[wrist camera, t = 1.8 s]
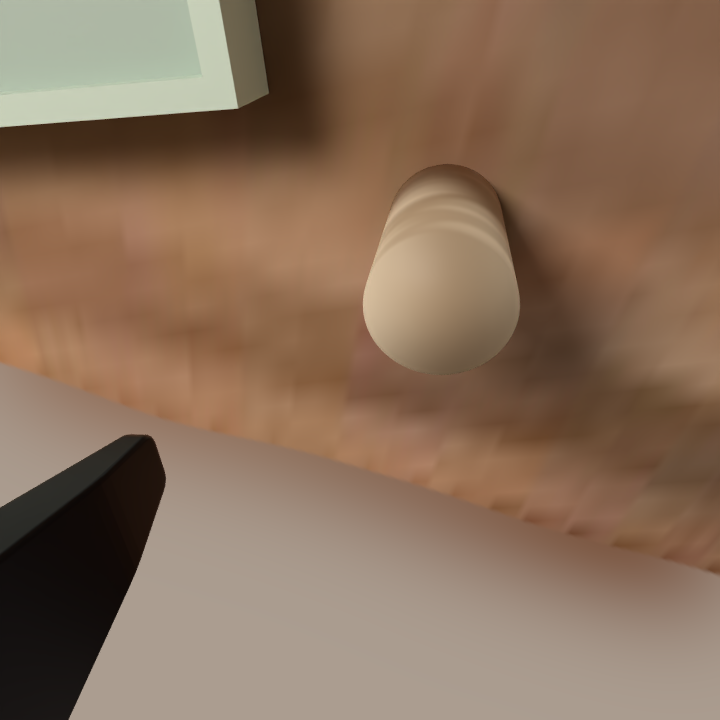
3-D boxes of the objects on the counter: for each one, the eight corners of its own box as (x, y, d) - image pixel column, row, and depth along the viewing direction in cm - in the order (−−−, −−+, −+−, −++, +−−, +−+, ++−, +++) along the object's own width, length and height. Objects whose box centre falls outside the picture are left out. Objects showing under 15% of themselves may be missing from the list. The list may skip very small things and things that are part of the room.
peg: (503, 161, 18) (524, 230, 13) (500, 271, 20) (516, 374, 14) (386, 167, 19) (356, 237, 13) (393, 274, 21) (369, 375, 15)
